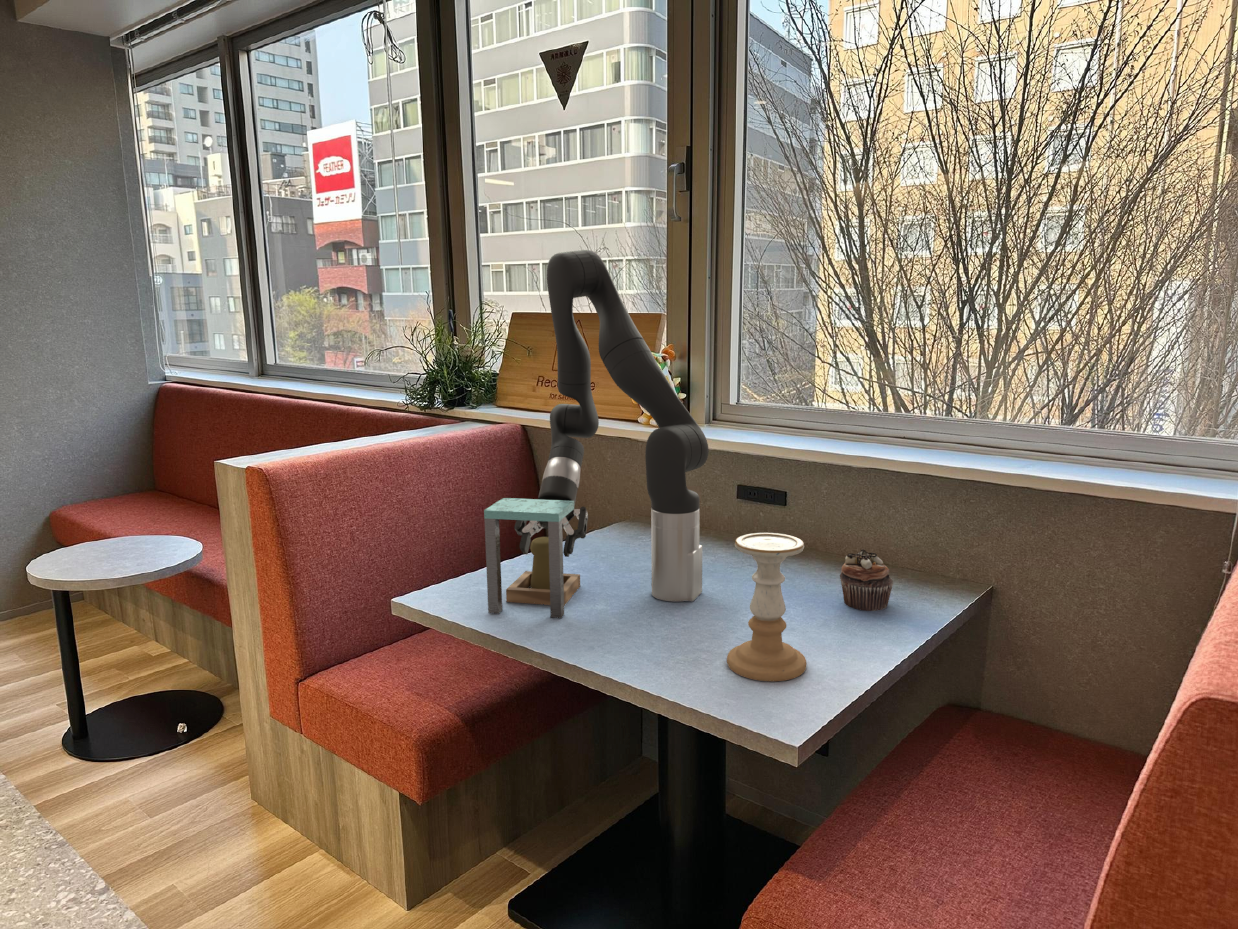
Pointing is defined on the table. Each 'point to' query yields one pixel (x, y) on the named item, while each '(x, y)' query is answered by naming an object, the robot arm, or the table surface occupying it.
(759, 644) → the candle holder
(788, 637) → the table surface
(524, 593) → the socket
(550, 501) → the mint green stool
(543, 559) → the cork
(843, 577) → the cupcake
